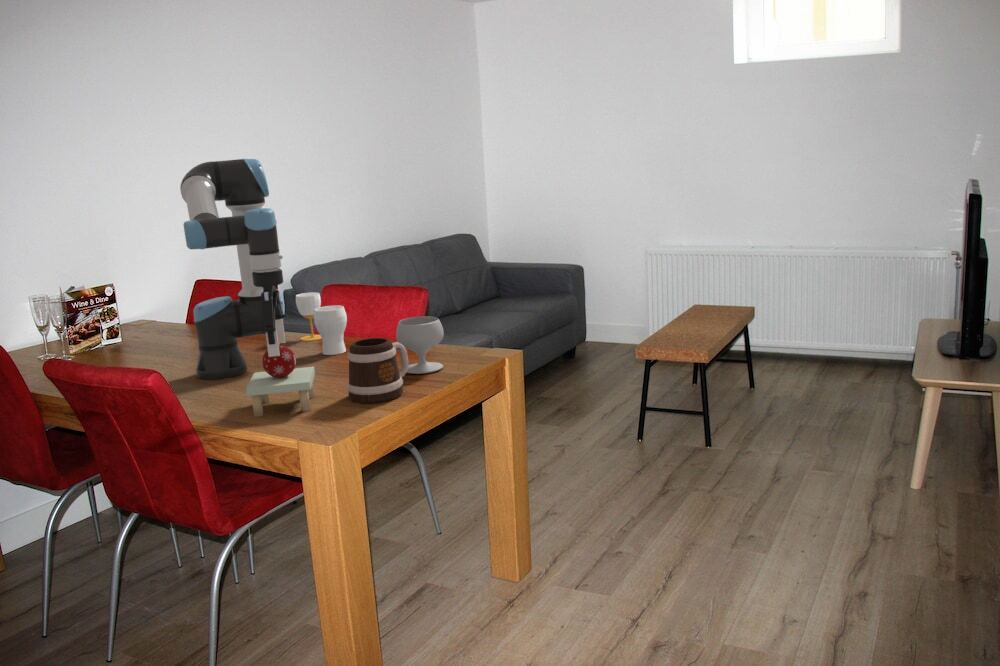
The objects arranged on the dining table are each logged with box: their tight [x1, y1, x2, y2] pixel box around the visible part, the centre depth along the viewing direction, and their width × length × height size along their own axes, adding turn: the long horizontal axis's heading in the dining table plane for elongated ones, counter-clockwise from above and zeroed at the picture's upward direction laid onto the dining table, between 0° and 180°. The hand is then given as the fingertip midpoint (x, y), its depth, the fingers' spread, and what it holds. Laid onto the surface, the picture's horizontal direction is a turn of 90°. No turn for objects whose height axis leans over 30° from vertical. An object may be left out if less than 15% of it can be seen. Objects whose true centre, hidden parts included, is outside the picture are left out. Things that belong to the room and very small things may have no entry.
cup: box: [313, 304, 348, 356], centre depth 281 cm, size 11×11×15 cm
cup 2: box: [295, 291, 322, 342], centre depth 305 cm, size 9×9×16 cm
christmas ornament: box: [261, 341, 297, 378], centre depth 223 cm, size 9×9×10 cm
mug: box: [346, 337, 409, 404], centre depth 230 cm, size 20×15×15 cm
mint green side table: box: [245, 366, 316, 418], centre depth 225 cm, size 16×16×8 cm
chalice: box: [395, 315, 445, 375], centre depth 251 cm, size 14×14×15 cm
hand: (277, 349), depth 223 cm, fingers open, 13 cm apart
